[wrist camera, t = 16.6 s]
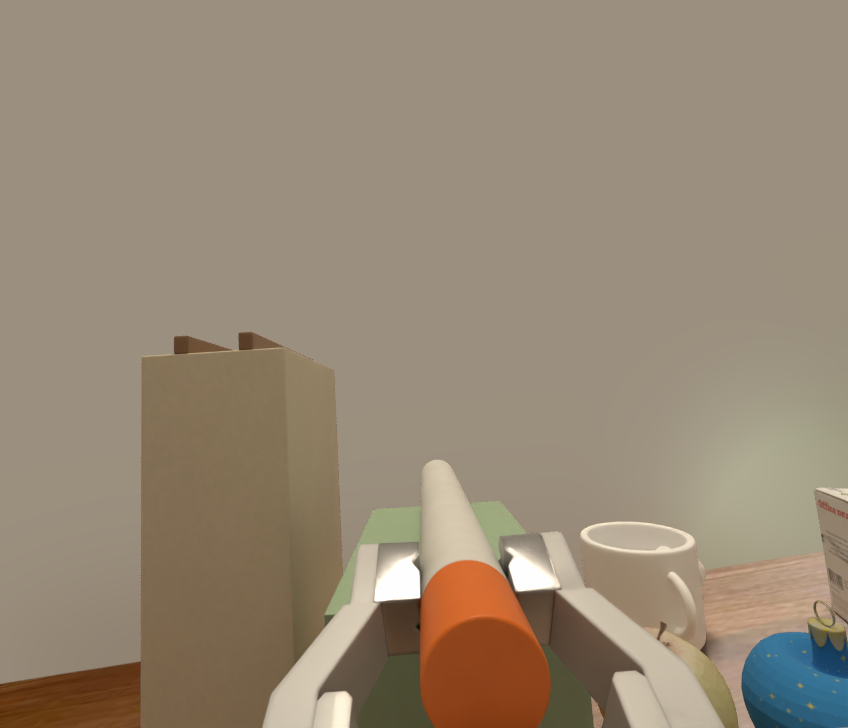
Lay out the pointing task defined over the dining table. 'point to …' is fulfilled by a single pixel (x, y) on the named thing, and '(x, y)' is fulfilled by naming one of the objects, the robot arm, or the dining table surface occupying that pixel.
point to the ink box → (835, 543)
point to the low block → (400, 678)
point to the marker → (472, 621)
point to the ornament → (799, 678)
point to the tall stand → (233, 526)
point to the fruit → (700, 674)
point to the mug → (648, 575)
